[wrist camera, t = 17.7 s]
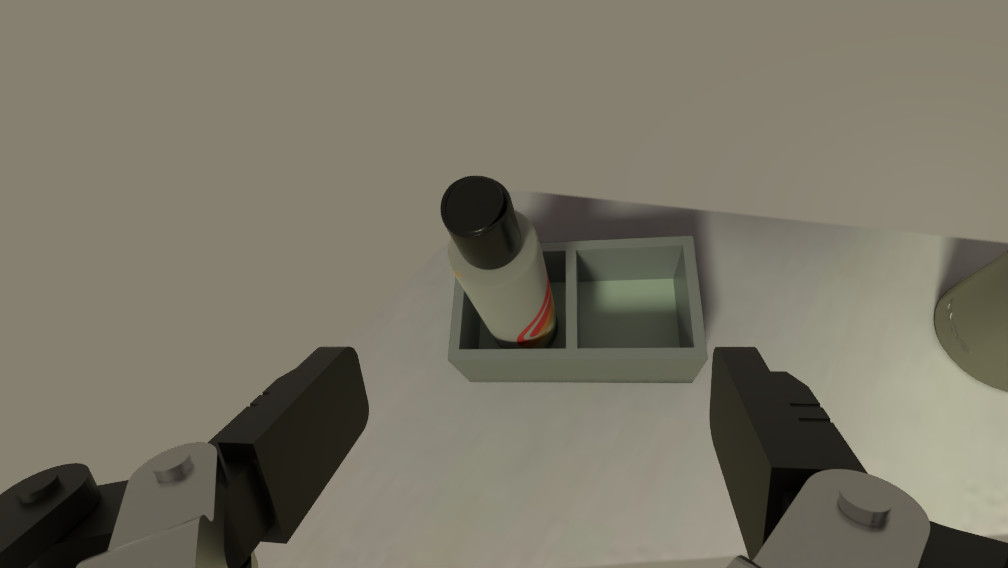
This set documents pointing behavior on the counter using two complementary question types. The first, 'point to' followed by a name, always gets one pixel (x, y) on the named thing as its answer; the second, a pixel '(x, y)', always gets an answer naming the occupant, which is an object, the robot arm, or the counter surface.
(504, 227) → the lotion bottle
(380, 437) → the counter surface
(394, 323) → the counter surface
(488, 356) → the box
